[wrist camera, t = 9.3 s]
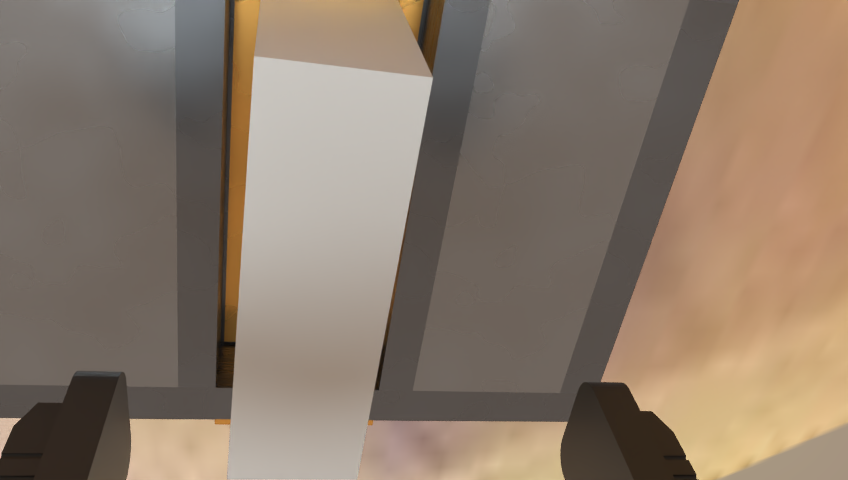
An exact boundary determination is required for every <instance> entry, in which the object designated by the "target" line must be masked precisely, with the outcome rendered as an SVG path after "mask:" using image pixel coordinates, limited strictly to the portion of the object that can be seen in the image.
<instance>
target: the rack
mask: <svg viewBox="0 0 848 480" xmlns="http://www.w3.org/2000/svg"><path fill="white" fill-rule="evenodd" d="M398 1H399V3H400V6H401V8H402V10H403V12H404V15H405V17H406V19H407V21H408V23H409V26H410V28H411V30H412V32H413V34H414V37H415V39H416V41H417V43H418V46H419V48H420V50H421V52H422V54H423V57H424V59H425V61H426V63H427V65H428V68H429V70H430V72H431V74H432V76H433V80H432V86H431V91H430V96H429V102H428V107H427V112H426V118H425V123H424V128H423V134H422V139H421V144H420V149H419V155H418V160H417V165H416V171H415V176H414V181H413V187H412V192H411V197H410V202H409V208H408V213H407V218H406V224H405V229H404V234H403V240H402V245H401V250H400V255H399V261H398V266H397V271H396V277H395V282H394V287H393V293H392V298H391V303H390V309H389V314H388V319H387V324H386V330H385V335H384V340H383V346H382V351H381V356H380V362H379V367H378V372H377V377H376V383H375V388H374V393H373V399H372V404H371V409H370V415H369V420H368V425H372V424H373V420H398V421H546V422H568V420H569V417H570V414H571V411H572V408H573V405H574V402H575V398H576V395H577V392H578V389H579V387H580V385H581V384H582V383H584V382H601V379H602V376H603V373H604V371H605V368H606V365H607V362H608V360H609V357H610V354H611V351H612V349H613V346H614V343H615V340H616V338H617V335H618V332H619V329H620V327H621V324H622V321H623V318H624V316H625V313H626V310H627V307H628V305H629V302H630V299H631V296H632V294H633V291H634V288H635V285H636V283H637V280H638V277H639V274H640V272H641V269H642V266H643V263H644V261H645V258H646V255H647V252H648V250H649V247H650V244H651V241H652V238H653V236H654V233H655V230H656V227H657V225H658V222H659V219H660V216H661V214H662V211H663V208H664V205H665V203H666V200H667V197H668V194H669V192H670V189H671V186H672V183H673V181H674V178H675V175H676V172H677V170H678V167H679V164H680V161H681V159H682V156H683V153H684V150H685V148H686V145H687V142H688V139H689V137H690V134H691V131H692V128H693V126H694V123H695V120H696V117H697V115H698V112H699V109H700V106H701V104H702V101H703V98H704V95H705V92H706V90H707V87H708V84H709V81H710V79H711V76H712V73H713V70H714V68H715V65H716V62H717V59H718V57H719V54H720V51H721V48H722V46H723V43H724V40H725V37H726V35H727V32H728V29H729V26H730V24H731V21H732V18H733V15H734V13H735V10H736V7H737V4H738V2H739V0H398ZM259 9H260V0H0V418H22V417H23V416H25V415H26V414H27V413H28V412H29V411H30V410H31V409H32V408H33V407H34V406H35V405H36V404H37V403H38V402H40V403H63V400H64V398H65V395H66V392H67V390H68V387H69V385H70V382H71V379H72V377H73V375H74V373H75V372H76V371H107V372H124V373H125V376H126V383H127V395H128V407H129V419H215V424H230V423H231V408H232V392H233V377H234V361H235V345H236V330H237V314H238V299H239V283H240V268H241V252H242V236H243V221H244V205H245V190H246V174H247V158H248V143H249V127H250V112H251V96H252V80H253V65H254V52H255V44H256V35H257V26H258V17H259Z"/></svg>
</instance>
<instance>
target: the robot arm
mask: <svg viewBox="0 0 848 480" xmlns="http://www.w3.org/2000/svg"><path fill="white" fill-rule="evenodd" d="M130 452H131V432H130V420H129V407H128V395H127V383H126V376H125V373H124V372H107V371H76V372H75V373H74V375H73V377H72V379H71V382H70V385H69V387H68V390H67V392H66V395H65V398H64V400H63V403H40V402H38V403H37V404H36V405H35V406H34V407H33V408H32V409H31V410H30V411H29V412H28V413H27V414H26V415H25V416H23V417H22V418H21V419H20V420H19V421H18V422H17V423H16V424H15V425H14V426H13V429H12V431H11V433H10V435H9V438H8V440H7V442H6V444H5V447H4V449H3V451H2V456H1V459H0V480H126V478H127V474H128V469H129V462H130ZM561 467H562V472H563V475H564V478H565V480H697V479H696V473H695V471H694V469H693V468H692V466H691V464H690V462H689V460H686V455H685V453H684V451H683V449H682V447H681V445H680V444H679V442H678V440H677V438H676V436H675V434H674V432H673V431H672V430H671V429H670V428H669V427H667V426H666V425H665V424H664V423H663V422H662V421H661V420H660V419H659V418H658V417H657V416H656V415H655V414H654V413H653V412H652V411H640V409H639V407H638V405H637V404H636V402H635V400H634V398H633V396H632V394H631V392H630V390H629V388H628V387H627V386H626V385H625V384H624V383H610V382H584V383H582V384H581V385H580V387H579V389H578V392H577V395H576V398H575V402H574V405H573V408H572V411H571V414H570V417H569V420H568V423H567V426H566V429H565V432H564V436H563V439H562V443H561Z"/></svg>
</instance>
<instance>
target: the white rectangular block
mask: <svg viewBox="0 0 848 480" xmlns="http://www.w3.org/2000/svg"><path fill="white" fill-rule="evenodd" d="M432 80H433V76H432V74H431V72H430V70H429V68H428V65H427V63H426V61H425V59H424V57H423V54H422V52H421V50H420V48H419V46H418V43H417V41H416V39H415V37H414V34H413V32H412V30H411V28H410V26H409V23H408V21H407V19H406V17H405V15H404V12H403V10H402V8H401V6H400V3H399V1H398V0H260V9H259V17H258V26H257V35H256V44H255V52H254V65H253V80H252V96H251V112H250V127H249V143H248V158H247V174H246V190H245V205H244V221H243V236H242V252H241V268H240V283H239V299H238V314H237V330H236V345H235V361H234V377H233V392H232V408H231V423H230V439H229V455H228V470H227V479H232V480H357V478H358V473H359V468H360V462H361V457H362V452H363V446H364V441H365V436H366V430H367V425H368V420H369V415H370V409H371V404H372V399H373V393H374V388H375V383H376V377H377V372H378V367H379V362H380V356H381V351H382V346H383V340H384V335H385V330H386V324H387V319H388V314H389V309H390V303H391V298H392V293H393V287H394V282H395V277H396V271H397V266H398V261H399V255H400V250H401V245H402V240H403V234H404V229H405V224H406V218H407V213H408V208H409V202H410V197H411V192H412V187H413V181H414V176H415V171H416V165H417V160H418V155H419V149H420V144H421V139H422V134H423V128H424V123H425V118H426V112H427V107H428V102H429V96H430V91H431V86H432Z"/></svg>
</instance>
